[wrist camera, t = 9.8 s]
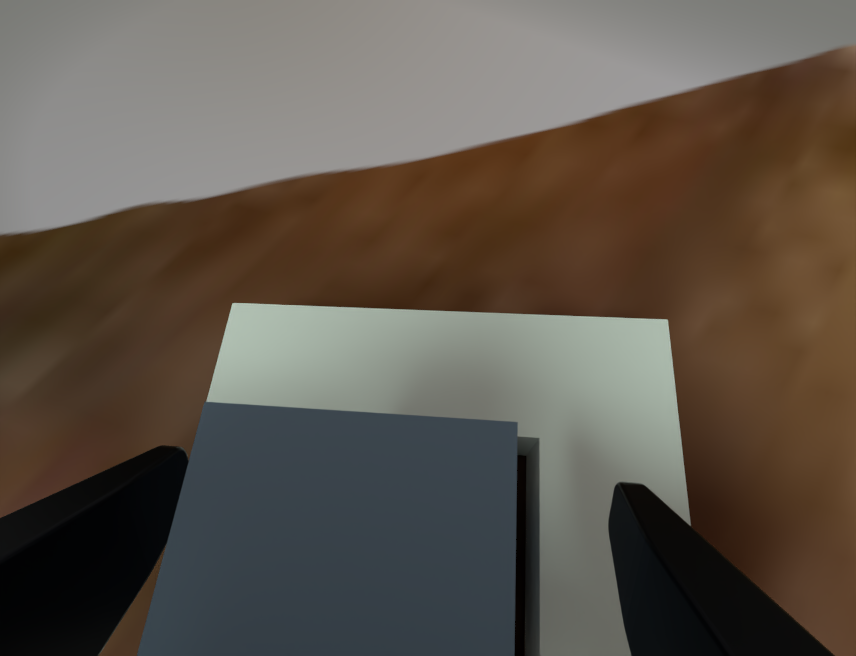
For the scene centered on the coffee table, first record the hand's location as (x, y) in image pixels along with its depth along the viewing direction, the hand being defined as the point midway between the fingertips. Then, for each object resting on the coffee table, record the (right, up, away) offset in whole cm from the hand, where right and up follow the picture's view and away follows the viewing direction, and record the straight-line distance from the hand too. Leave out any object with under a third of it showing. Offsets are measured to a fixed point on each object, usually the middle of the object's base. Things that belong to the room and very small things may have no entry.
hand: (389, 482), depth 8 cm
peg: (+1, -5, +8) cm, 9 cm away
